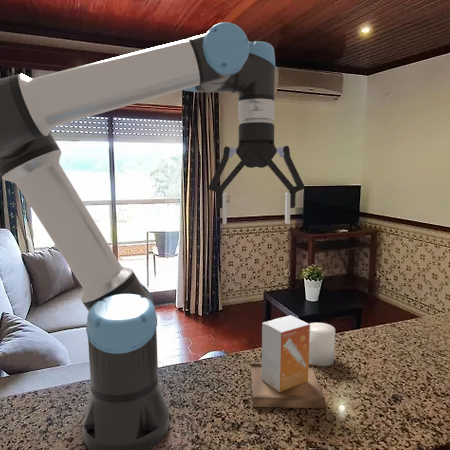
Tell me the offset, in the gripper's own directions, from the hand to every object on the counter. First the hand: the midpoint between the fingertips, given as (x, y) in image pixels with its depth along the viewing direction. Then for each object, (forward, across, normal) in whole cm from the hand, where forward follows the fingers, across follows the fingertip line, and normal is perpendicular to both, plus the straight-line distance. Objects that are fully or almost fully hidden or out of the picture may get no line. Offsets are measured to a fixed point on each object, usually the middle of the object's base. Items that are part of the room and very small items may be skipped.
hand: (255, 223), depth 85 cm
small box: (+33, +6, -6) cm, 34 cm away
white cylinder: (+35, +16, +8) cm, 39 cm away
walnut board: (+35, +6, -6) cm, 36 cm away
